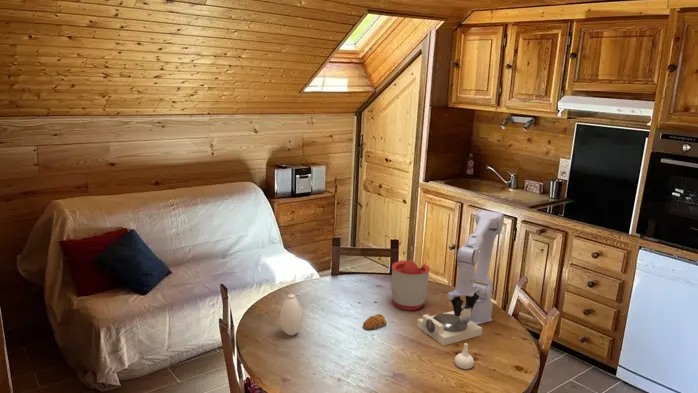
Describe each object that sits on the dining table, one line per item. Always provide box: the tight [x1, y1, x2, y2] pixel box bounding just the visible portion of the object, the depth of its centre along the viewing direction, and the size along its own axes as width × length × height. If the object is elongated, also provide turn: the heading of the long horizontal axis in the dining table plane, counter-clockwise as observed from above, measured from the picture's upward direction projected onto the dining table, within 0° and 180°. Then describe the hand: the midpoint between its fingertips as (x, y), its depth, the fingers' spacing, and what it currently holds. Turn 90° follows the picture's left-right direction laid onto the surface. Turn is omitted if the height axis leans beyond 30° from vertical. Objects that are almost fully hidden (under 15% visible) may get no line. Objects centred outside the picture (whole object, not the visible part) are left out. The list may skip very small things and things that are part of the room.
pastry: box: [362, 313, 387, 331], centre depth 199 cm, size 9×7×4 cm
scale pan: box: [433, 313, 467, 331], centre depth 197 cm, size 13×13×1 cm
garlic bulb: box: [454, 342, 475, 370], centre depth 174 cm, size 6×6×8 cm
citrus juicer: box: [390, 259, 430, 311], centre depth 218 cm, size 16×17×20 cm
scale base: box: [416, 310, 483, 346], centre depth 197 cm, size 18×16×6 cm
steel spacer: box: [456, 303, 471, 323], centre depth 191 cm, size 5×5×5 cm
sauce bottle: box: [279, 288, 303, 336], centre depth 189 cm, size 8×8×18 cm
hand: (462, 313), depth 191 cm, fingers closed on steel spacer, 5 cm apart
